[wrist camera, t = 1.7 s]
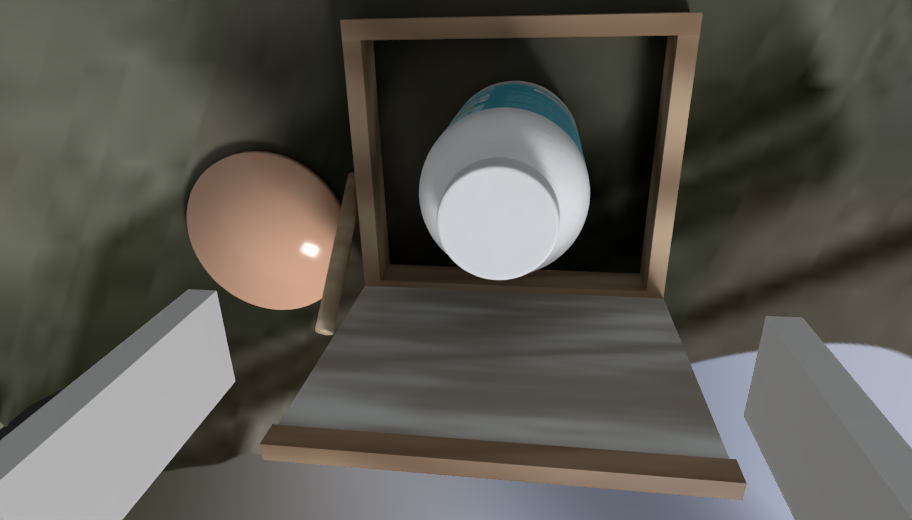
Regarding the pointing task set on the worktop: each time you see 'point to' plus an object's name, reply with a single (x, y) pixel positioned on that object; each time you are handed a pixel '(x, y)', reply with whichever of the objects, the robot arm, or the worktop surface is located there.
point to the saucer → (264, 228)
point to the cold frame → (509, 324)
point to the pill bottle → (506, 182)
